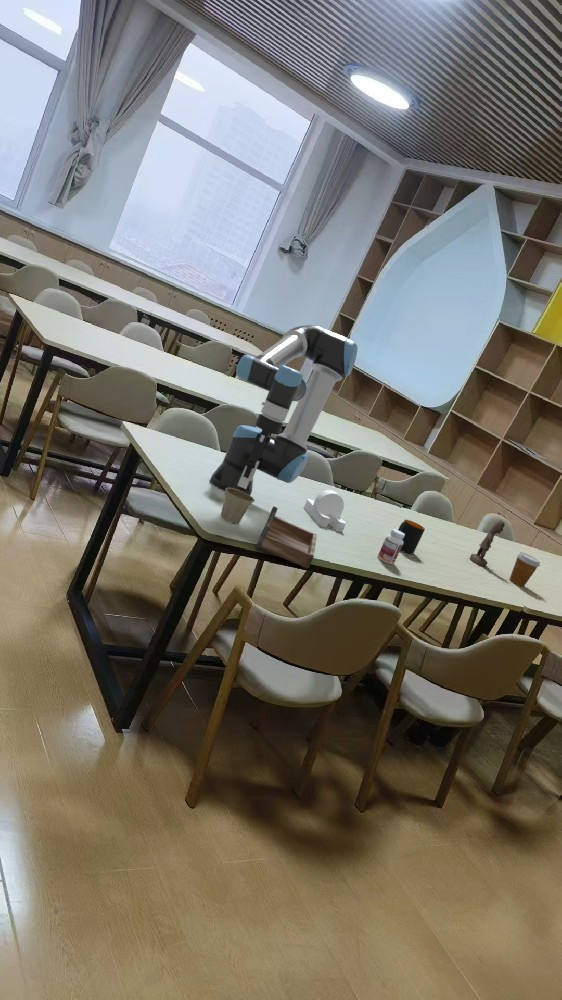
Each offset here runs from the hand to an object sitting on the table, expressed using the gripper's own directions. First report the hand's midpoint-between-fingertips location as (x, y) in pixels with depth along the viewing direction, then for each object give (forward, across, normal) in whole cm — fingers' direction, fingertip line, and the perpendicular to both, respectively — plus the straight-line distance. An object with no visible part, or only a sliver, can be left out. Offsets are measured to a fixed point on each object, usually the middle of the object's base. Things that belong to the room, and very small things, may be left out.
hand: (244, 483), depth 227 cm
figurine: (+11, -88, +98) cm, 133 cm away
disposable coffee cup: (+11, -80, +114) cm, 140 cm away
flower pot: (+13, 0, 0) cm, 13 cm away
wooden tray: (+12, +2, +19) cm, 23 cm away
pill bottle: (+12, -30, +53) cm, 62 cm away
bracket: (+12, -50, +29) cm, 59 cm away
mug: (+12, -58, +61) cm, 85 cm away
